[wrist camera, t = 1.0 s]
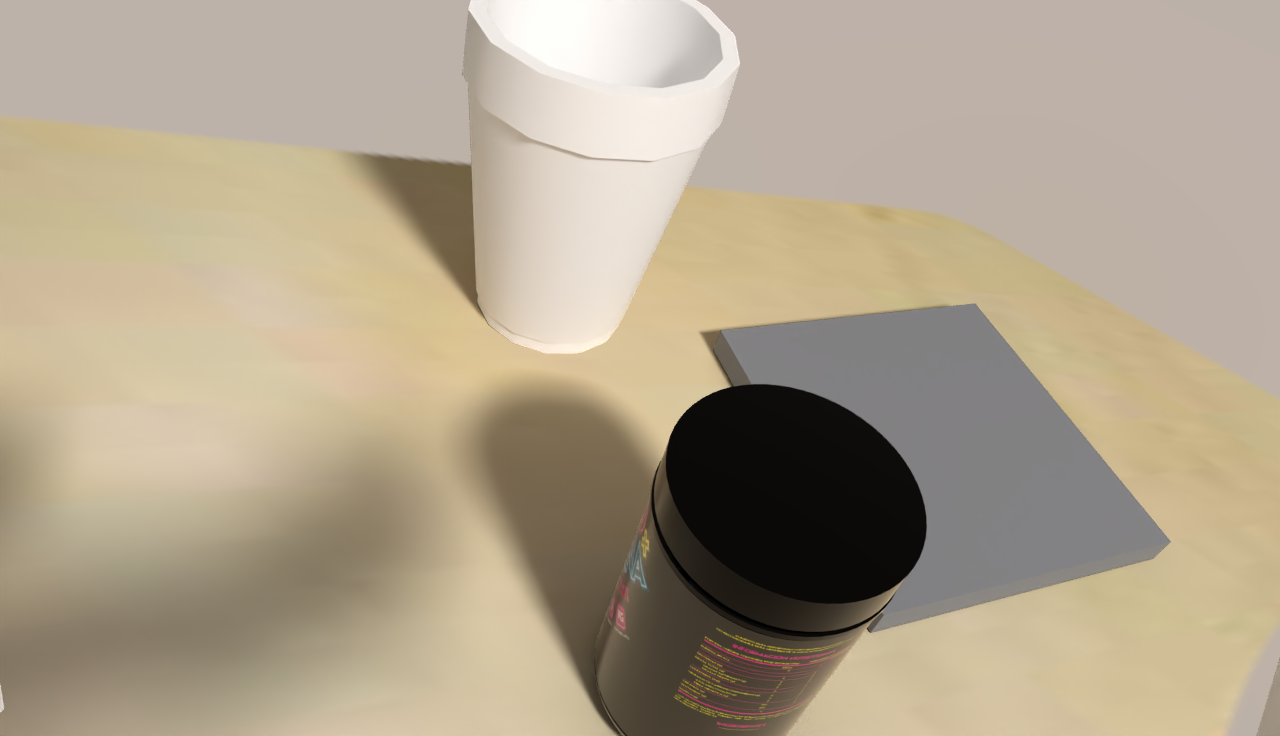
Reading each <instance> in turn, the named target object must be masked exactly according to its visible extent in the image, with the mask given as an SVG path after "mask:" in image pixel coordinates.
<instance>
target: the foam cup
mask: <svg viewBox="0 0 1280 736" xmlns="http://www.w3.org/2000/svg"><path fill="white" fill-rule="evenodd" d="M739 66H740V61H739V56H738V50H737V45H736V38H735V35H734V34H733V33H732V32H731V31H730V30H729V29H728V28H727V27H726V26H725V25H724V24H723V23H722V22H721V21H720V19H719V18H718V17H717V16H716V15H715V14H714V13H713V12H712V11H711V10H710V9H709V8H708V7H707V6H705V5H703V4H702V3H700V2H698V1H696V0H471V1H470V5H469V9H468V20H467V29H466V39H465V50H464V61H463V70H462V74H463V76H464V78H465V79H466V81H467V82H468V91H469V115H470V140H471V141H470V142H471V167H472V193H473V218H474V244H475V270H476V291H477V293H478V300H477V303H478V305H479V307H480V309H481V311H482V313H483V315H484V317H485V319H486V321H487V322H488V324H489V325H490V326H491V327H492V328H494V329H495V330H496V331H498V332H499V333H500V334H502V335H503V336H504V337H506V338H507V339H508V340H510V341H511V342H512V343H514V344H517V345H520V346H524V347H527V348H530V349H533V350H537V351H540V352H543V353H581V352H583V351H586V350H588V349H590V348H593V347H595V346H598V345H600V344H603V343H605V342H606V341H607V340H608V339H609V337H610V336H611V335H612V334H613V332H614V331H615V330H616V328H617V327H618V326H619V325H620V322H621V319H622V317H623V316H624V315H625V313H626V311H627V309H628V307H629V305H630V302H631V300H632V298H633V296H634V294H635V292H636V290H637V288H638V286H639V283H640V281H641V279H642V277H643V275H644V273H645V271H646V269H647V267H648V264H649V262H650V260H651V258H652V256H653V254H654V252H655V250H656V248H657V245H658V243H659V241H660V239H661V237H662V235H663V233H664V231H665V229H666V226H667V224H668V222H669V220H670V218H671V216H672V214H673V212H674V210H675V207H676V205H677V203H678V201H679V199H680V197H681V195H682V193H683V191H684V188H685V186H686V184H687V182H688V180H689V178H690V175H691V173H692V172H693V169H694V167H695V165H696V163H697V161H698V159H699V156H700V155H701V153H702V150H703V148H704V146H705V144H706V142H707V140H708V138H709V137H710V136H711V135H712V133H713V132H714V131H715V130H716V129H717V128H718V127H719V125H720V124H721V123H722V119H723V117H724V113H725V110H726V107H727V104H728V101H729V97H730V94H731V91H732V88H733V85H734V82H735V79H736V76H737V72H738V69H739Z"/></svg>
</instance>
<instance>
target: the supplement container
mask: <svg viewBox="0 0 1280 736" xmlns="http://www.w3.org/2000/svg"><path fill="white" fill-rule="evenodd" d="M926 531H927V517H926V510H925V504H924V501H923V497H922V494H921V491H920V489H919V486H918V483H917V481H916V479H915V477H914V475H913V473H912V472H911V470H910V468H909V467H908V465H907V464H906V462H905V461H904V459H903V458H902V457H901V455H900V454H899V453H898V451H897V450H896V449H895V448H894V447H893V446H892V444H891V443H890V442H889V441H888V440H887V439H886V438H885V437H884V436H883V435H882V434H881V433H880V432H878V431H877V430H876V429H875V428H874V427H873V426H871V425H870V424H869V423H867V422H866V421H865V420H863V419H862V418H861V417H859V416H858V415H856V414H855V413H853V412H851V411H850V410H848V409H846V408H845V407H843V406H841V405H839V404H837V403H835V402H833V401H831V400H829V399H827V398H824V397H821V396H819V395H816V394H814V393H810V392H807V391H804V390H800V389H796V388H792V387H786V386H780V385H770V384H749V385H740V386H734V387H730V388H726V389H722V390H719V391H717V392H714V393H712V394H710V395H708V396H706V397H704V398H702V399H701V400H699V401H698V402H696V403H695V404H693V405H692V406H691V407H690V408H689V409H688V410H687V411H686V412H685V413H684V414H683V415H682V416H681V418H680V419H679V421H678V422H677V424H676V425H675V427H674V429H673V431H672V433H671V435H670V438H669V441H668V444H667V446H666V449H665V452H664V454H663V457H662V460H661V461H660V463H659V466H658V468H657V470H656V473H655V475H654V479H653V482H652V485H651V492H650V496H649V498H648V501H647V504H646V506H645V509H644V512H643V515H642V517H641V520H640V523H639V525H638V528H637V531H636V533H635V536H634V539H633V541H632V544H631V547H630V550H629V552H628V555H627V558H626V560H625V563H624V566H623V568H622V571H621V574H620V577H619V579H618V582H617V585H616V587H615V590H614V593H613V595H612V598H611V601H610V603H609V606H608V609H607V612H606V614H605V617H604V620H603V622H602V625H601V628H600V630H599V633H598V637H597V640H596V644H595V649H594V675H595V682H596V686H597V690H598V693H599V696H600V699H601V701H602V704H603V706H604V708H605V710H606V712H607V714H608V716H609V718H610V719H611V721H612V723H613V724H614V726H615V727H616V728H617V730H618V731H619V732H620V734H621V735H622V736H787V734H788V733H789V732H790V730H791V729H792V728H793V726H794V725H795V724H796V722H797V721H798V720H799V718H800V717H801V716H802V714H803V713H804V712H805V710H806V709H807V707H808V706H809V705H810V703H811V702H812V701H813V699H814V698H815V697H816V695H817V694H818V693H819V691H820V690H821V689H822V687H823V686H824V685H825V683H826V682H827V681H828V679H829V678H830V677H831V675H832V674H833V673H834V671H835V670H836V669H837V667H838V666H839V665H840V663H841V662H842V661H843V659H844V658H845V657H846V655H847V654H848V653H849V651H850V650H851V649H852V647H853V646H854V645H855V643H856V642H857V641H858V639H859V638H860V637H861V635H862V634H863V633H864V631H865V630H866V629H867V627H868V626H869V625H870V623H871V622H872V621H873V620H874V619H875V618H876V617H877V616H878V615H879V614H880V613H881V612H882V611H883V610H884V609H885V608H886V606H887V605H888V604H889V602H890V601H891V600H892V598H893V596H894V595H895V593H896V591H897V590H898V588H899V587H900V586H901V584H902V583H903V582H904V580H905V579H906V578H907V576H908V575H909V574H910V572H911V571H912V570H913V568H914V567H915V565H916V563H917V562H918V560H919V558H920V556H921V553H922V551H923V548H924V544H925V540H926Z"/></svg>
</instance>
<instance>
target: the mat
mask: <svg viewBox="0 0 1280 736" xmlns="http://www.w3.org/2000/svg"><path fill="white" fill-rule="evenodd" d="M714 352H715V354H716V356H717V358H718V359H719V361H720V363H721V365H722V367H723V368H724V370H725V372H726V374H727V376H728V377H729V379H730V381H731V383H732V385H733V386H740V385H749V384H770V385H780V386H786V387H792V388H796V389H800V390H804V391H807V392H810V393H814V394H816V395H819V396H821V397H824V398H827V399H829V400H831V401H833V402H835V403H837V404H839V405H841V406H843V407H845V408H846V409H848V410H850V411H851V412H853V413H855V414H856V415H858V416H859V417H861V418H862V419H863V420H865V421H866V422H867V423H869V424H870V425H871V426H873V427H874V428H875V429H876V430H877V431H878V432H880V433H881V434H882V435H883V436H884V437H885V438H886V439H887V440H888V441H889V442H890V443H891V444H892V446H893V447H894V448H895V449H896V450H897V451H898V453H899V454H900V455H901V457H902V458H903V459H904V461H905V462H906V464H907V465H908V467H909V468H910V470H911V472H912V473H913V475H914V477H915V479H916V481H917V483H918V486H919V489H920V491H921V494H922V497H923V501H924V504H925V510H926V517H927V531H926V540H925V544H924V548H923V551H922V553H921V556H920V558H919V560H918V562H917V563H916V565H915V567H914V568H913V570H912V571H911V572H910V574H909V575H908V576H907V578H906V579H905V580H904V582H903V583H902V584H901V586H900V587H899V588H898V590H897V591H896V593H895V595H894V596H893V598H892V600H891V601H890V602H889V604H888V605H887V606H886V608H885V609H884V610H883V611H882V612H881V613H880V614H879V615H878V616H877V617H876V618H875V619H874V620H873V621H872V622H871V623H870V625H869V626H868V627H867V628H868V629H869V631H870V633H872V632H876V631H880V630H883V629H887V628H891V627H895V626H899V625H902V624H906V623H910V622H914V621H918V620H921V619H925V618H929V617H933V616H937V615H940V614H944V613H948V612H952V611H956V610H959V609H963V608H967V607H971V606H975V605H978V604H982V603H986V602H990V601H994V600H997V599H1001V598H1005V597H1009V596H1013V595H1016V594H1020V593H1024V592H1028V591H1032V590H1035V589H1039V588H1043V587H1047V586H1051V585H1054V584H1058V583H1062V582H1066V581H1070V580H1073V579H1077V578H1081V577H1085V576H1089V575H1092V574H1096V573H1100V572H1104V571H1108V570H1111V569H1115V568H1119V567H1123V566H1127V565H1130V564H1134V563H1138V562H1142V561H1146V560H1149V559H1153V558H1154V557H1155V556H1156V555H1158V554H1159V553H1160V552H1161V551H1162V550H1163V549H1164V548H1165V547H1166V546H1167V545H1168V544H1169V543H1170V542H1171V541H1170V540H1169V539H1168V538H1167V536H1166V535H1165V534H1164V533H1163V532H1162V530H1161V529H1160V528H1159V527H1158V525H1157V524H1156V523H1155V522H1154V521H1153V519H1152V518H1151V517H1150V516H1149V515H1148V513H1147V512H1146V511H1145V510H1144V508H1143V507H1142V506H1141V505H1140V504H1139V502H1138V501H1137V500H1136V499H1135V497H1134V496H1133V495H1132V494H1131V493H1130V491H1129V490H1128V489H1127V488H1126V487H1125V485H1124V484H1123V483H1122V482H1121V480H1120V479H1119V478H1118V477H1117V476H1116V474H1115V473H1114V472H1113V471H1112V469H1111V468H1110V467H1109V466H1108V465H1107V463H1106V462H1105V461H1104V460H1103V459H1102V457H1101V456H1100V455H1099V454H1098V452H1097V451H1096V450H1095V449H1094V448H1093V446H1092V445H1091V444H1090V443H1089V442H1088V440H1087V439H1086V438H1085V437H1084V435H1083V434H1082V433H1081V432H1080V431H1079V429H1078V428H1077V427H1076V426H1075V424H1074V423H1073V422H1072V421H1071V420H1070V418H1069V417H1068V416H1067V415H1066V414H1065V412H1064V411H1063V410H1062V409H1061V407H1060V406H1059V405H1058V404H1057V403H1056V401H1055V400H1054V399H1053V398H1052V396H1051V395H1050V394H1049V393H1048V392H1047V390H1046V389H1045V388H1044V387H1043V386H1042V384H1041V383H1040V382H1039V381H1038V379H1037V378H1036V377H1035V376H1034V375H1033V373H1032V372H1031V371H1030V370H1029V369H1028V367H1027V366H1026V365H1025V364H1024V362H1023V361H1022V360H1021V359H1020V358H1019V356H1018V355H1017V354H1016V353H1015V351H1014V350H1013V349H1012V348H1011V347H1010V345H1009V344H1008V343H1007V342H1006V341H1005V339H1004V338H1003V337H1002V336H1001V334H1000V333H999V332H998V331H997V330H996V328H995V327H994V326H993V325H992V323H991V322H990V321H989V320H988V319H987V317H986V316H985V315H984V314H983V313H982V311H981V310H980V309H979V308H978V306H977V305H976V304H966V305H957V306H947V307H938V308H928V309H919V310H909V311H900V312H890V313H881V314H871V315H862V316H852V317H843V318H833V319H824V320H814V321H805V322H796V323H786V324H777V325H767V326H758V327H748V328H739V329H729V330H721V331H720V334H719V337H718V339H717V342H716V344H715V347H714Z"/></svg>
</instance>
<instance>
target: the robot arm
mask: <svg viewBox="0 0 1280 736" xmlns="http://www.w3.org/2000/svg"><path fill="white" fill-rule="evenodd" d="M3 710H4V704H3V697H2V691H1V685H0V712H1V711H3ZM1257 736H1280V659H1279V662H1278V666H1277V669H1276V672H1275V675H1274V679H1273V682H1272V686H1271V689H1270V692H1269V695H1268V699H1267V702H1266V705H1265V709H1264V712H1263V716H1262V719H1261V722H1260V726H1259V729H1258V732H1257Z"/></svg>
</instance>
